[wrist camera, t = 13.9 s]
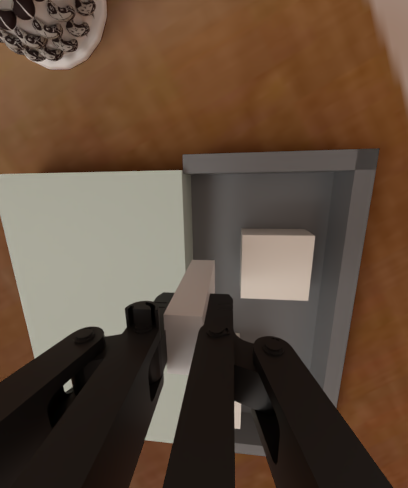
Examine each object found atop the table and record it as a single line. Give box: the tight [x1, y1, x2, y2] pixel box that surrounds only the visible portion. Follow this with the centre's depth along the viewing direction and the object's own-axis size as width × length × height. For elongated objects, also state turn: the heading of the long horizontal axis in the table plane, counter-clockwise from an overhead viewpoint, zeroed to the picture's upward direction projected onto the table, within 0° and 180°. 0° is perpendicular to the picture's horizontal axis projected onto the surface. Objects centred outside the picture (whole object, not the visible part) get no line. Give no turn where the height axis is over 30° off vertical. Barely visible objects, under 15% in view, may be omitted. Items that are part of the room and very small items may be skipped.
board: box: [0, 170, 193, 443], centre depth 21 cm, size 24×14×4 cm, turn 1°
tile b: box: [240, 229, 315, 301], centre depth 18 cm, size 5×5×2 cm
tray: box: [183, 149, 379, 456], centre depth 19 cm, size 26×12×4 cm, turn 1°
